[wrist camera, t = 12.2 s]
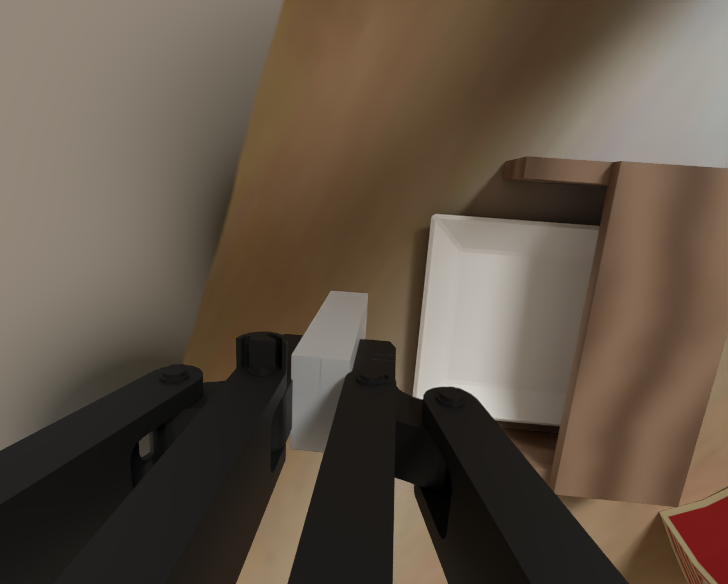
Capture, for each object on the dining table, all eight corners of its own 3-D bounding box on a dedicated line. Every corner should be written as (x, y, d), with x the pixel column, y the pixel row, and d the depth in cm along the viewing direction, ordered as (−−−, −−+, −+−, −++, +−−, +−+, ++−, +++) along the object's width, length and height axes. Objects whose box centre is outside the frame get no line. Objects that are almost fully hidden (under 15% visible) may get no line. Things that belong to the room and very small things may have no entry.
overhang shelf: (466, 438, 43) (480, 486, 36) (505, 161, 37) (532, 155, 30) (630, 454, 42) (677, 507, 35) (699, 174, 36) (773, 171, 29)
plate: (410, 402, 43) (411, 413, 41) (430, 212, 38) (431, 213, 36) (602, 421, 42) (612, 432, 40) (645, 228, 38) (659, 230, 36)
